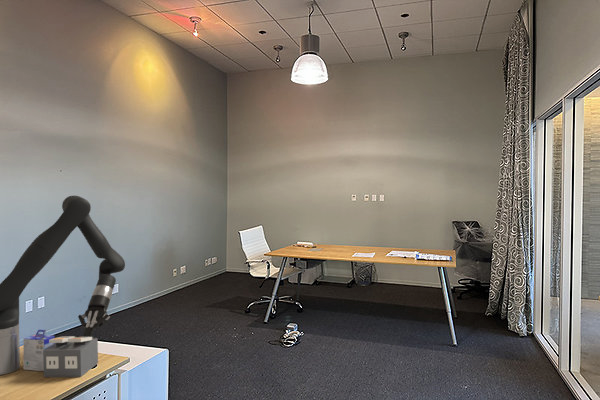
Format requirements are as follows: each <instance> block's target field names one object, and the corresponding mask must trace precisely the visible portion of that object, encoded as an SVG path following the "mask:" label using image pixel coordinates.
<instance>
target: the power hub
mask: <svg viewBox="0 0 600 400" xmlns="http://www.w3.org/2000/svg"><path fill="white" fill-rule="evenodd" d="M98 350H99V343H98V338H97V337H95V338H94V337H92V340H90V341H84V342H68V341H67V342H64V343H54V344H53V345H51V346H50V347H48V348H46V349H45V350H43V365H44V371H43V378H82V377H83V376H84V375H85V374H87V373H88V372H89V371H90V370H91V369H93V368H94V367H96V365H98V364H99V351H98Z"/></svg>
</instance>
